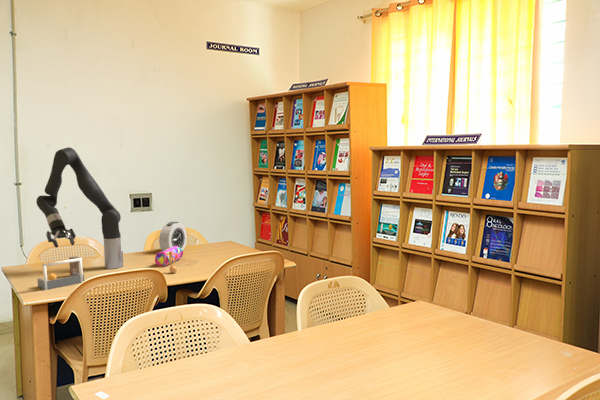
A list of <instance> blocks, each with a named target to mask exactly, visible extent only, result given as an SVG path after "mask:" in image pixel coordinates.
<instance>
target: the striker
mask: <svg viewBox="0 0 600 400" xmlns="http://www.w3.org/2000/svg"><path fill="white" fill-rule="evenodd" d="M76 258H81V257H80V256H77V255H76V256H70V257H68V260H70V259H76ZM73 272H76V273H79V261H77V262H71V263H69V277H71V276H73Z"/></svg>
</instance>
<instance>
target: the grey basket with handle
mask: <svg viewBox="0 0 600 400" xmlns="http://www.w3.org/2000/svg"><path fill="white" fill-rule="evenodd" d="M77 261H79V273H76V272H73V276H67V277H60V278H56V279H54V280H49V279H48V273H47V271H48V270H47V267H52V266H57V265H64V264H70V263H71V262H77ZM41 267H42V277H43V278H40V277H39V278H37V287H38V288H40V289H42V291H47V290H51V289H57V288H62V287H66V286H72V285H77V284H78V285H79V284H82V283H81V282H82V281H84V282H85V274H83V273H84V272H83V257H80V258H76V259H70V260H69V259H65V260H58V261H51V262H46V263H41Z"/></svg>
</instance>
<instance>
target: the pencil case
mask: <svg viewBox="0 0 600 400" xmlns="http://www.w3.org/2000/svg"><path fill="white" fill-rule="evenodd" d="M170 251H172V252H173V253H175V254H176V255H177V256H178V257H179V258H178V257H177V256H176V255H175V254H173V256H172V257H174V260H175V262H176V261H178V260H180V259H181V258H182V257H183V255H184V250H182V249H181V248H180V247H178V246H173V247H171V248H168V249H166V250H164V251H163V252H162V251H159V252H157V253H156V255H155V258H154V262H155V265H156V266H158V267H166V266H167V265H171V264H173V262H174V261H173V260H172V262H171V264H170V260H169V258H170V256H169V255H167V256H166V261H165V255H166V254H168V253H169V252H170ZM175 262H174V263H175Z"/></svg>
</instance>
